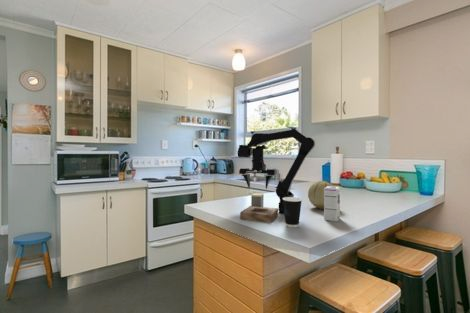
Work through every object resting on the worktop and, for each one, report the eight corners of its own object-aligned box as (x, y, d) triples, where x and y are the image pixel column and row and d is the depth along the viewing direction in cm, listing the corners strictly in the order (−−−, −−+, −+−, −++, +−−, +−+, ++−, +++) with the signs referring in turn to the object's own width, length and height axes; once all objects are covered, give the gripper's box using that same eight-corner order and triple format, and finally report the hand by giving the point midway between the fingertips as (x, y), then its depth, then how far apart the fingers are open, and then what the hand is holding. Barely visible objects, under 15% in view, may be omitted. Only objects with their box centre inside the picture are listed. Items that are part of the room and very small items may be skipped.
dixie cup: (303, 224, 105) (303, 197, 105) (300, 229, 98) (300, 201, 98) (284, 221, 108) (284, 196, 108) (280, 226, 101) (280, 199, 101)
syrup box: (337, 221, 109) (338, 188, 109) (323, 219, 112) (324, 187, 112) (339, 218, 114) (340, 186, 114) (326, 216, 117) (326, 185, 117)
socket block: (277, 214, 120) (278, 208, 120) (270, 222, 107) (271, 215, 107) (250, 211, 125) (250, 205, 125) (240, 218, 112) (240, 212, 112)
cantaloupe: (308, 210, 129) (308, 181, 129) (307, 204, 143) (307, 178, 143) (339, 212, 126) (339, 182, 125) (334, 206, 140) (335, 179, 140)
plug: (263, 209, 132) (263, 193, 131) (260, 211, 127) (260, 195, 127) (254, 208, 134) (254, 193, 133) (251, 210, 129) (251, 194, 129)
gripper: (279, 157, 134) (278, 187, 134) (245, 157, 141) (245, 185, 141) (274, 158, 123) (274, 190, 124) (238, 157, 130) (238, 188, 131)
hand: (257, 188), depth 130 cm, fingers open, 9 cm apart
